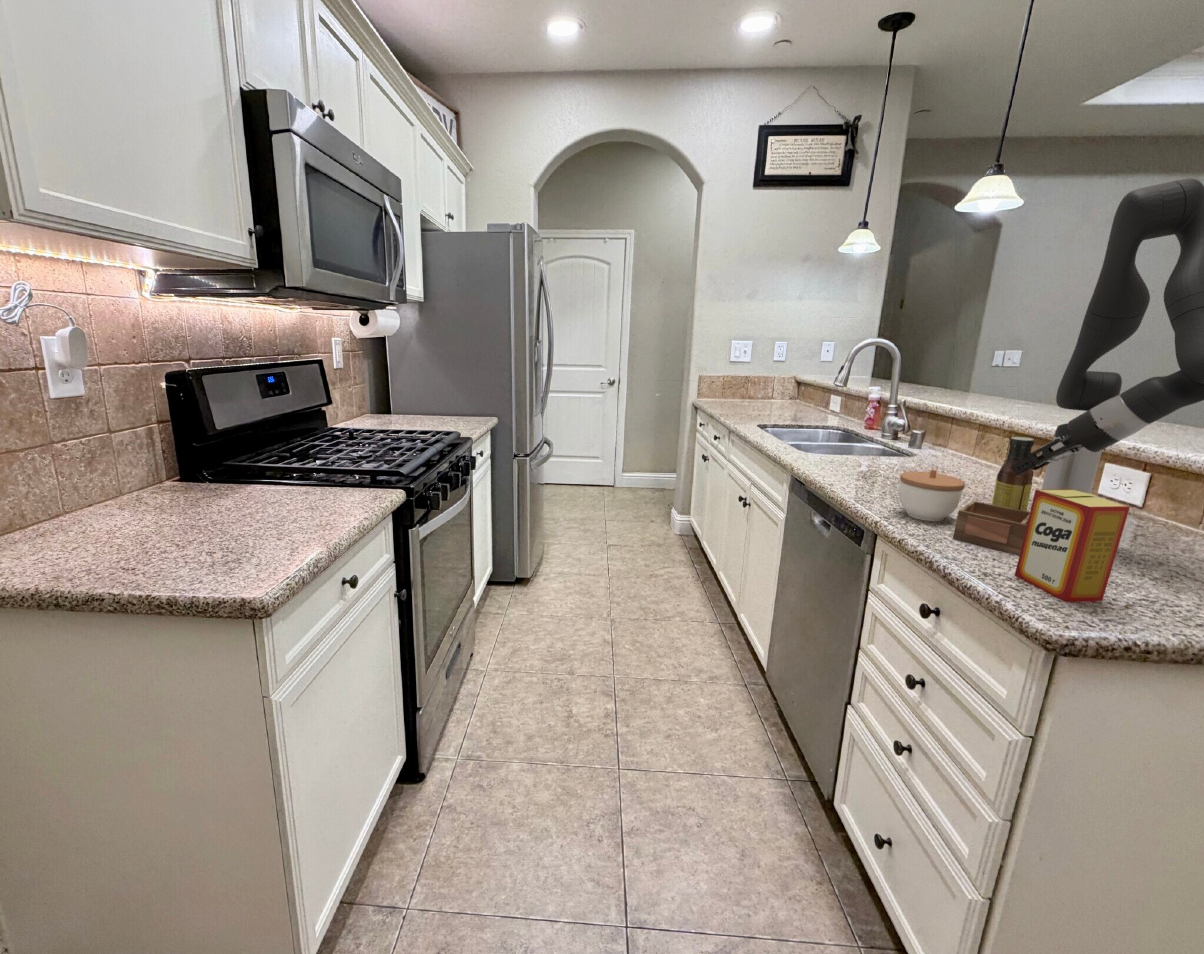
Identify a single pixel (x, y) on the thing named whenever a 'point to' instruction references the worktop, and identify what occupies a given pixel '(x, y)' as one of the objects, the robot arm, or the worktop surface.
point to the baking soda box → (1071, 544)
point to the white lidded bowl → (929, 494)
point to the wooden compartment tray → (992, 526)
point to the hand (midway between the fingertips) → (1023, 468)
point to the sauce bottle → (1014, 477)
